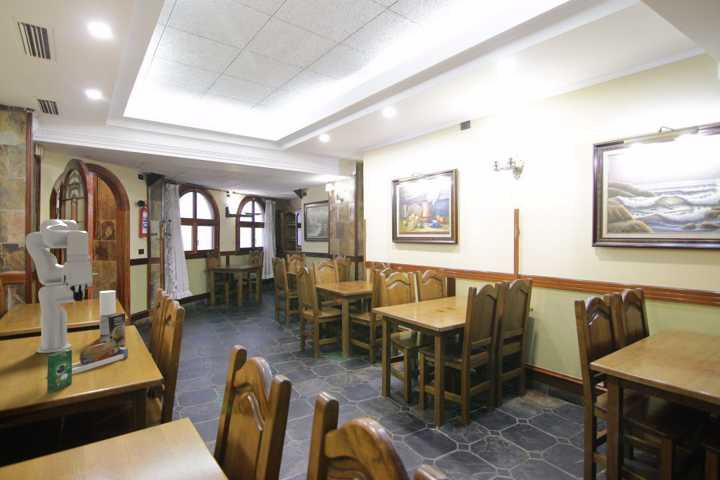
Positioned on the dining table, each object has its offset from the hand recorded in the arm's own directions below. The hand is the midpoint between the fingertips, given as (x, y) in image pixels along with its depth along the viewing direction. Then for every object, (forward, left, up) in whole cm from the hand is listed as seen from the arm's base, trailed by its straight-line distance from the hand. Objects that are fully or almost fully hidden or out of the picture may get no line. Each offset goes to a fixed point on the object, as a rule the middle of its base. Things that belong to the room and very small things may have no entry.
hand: (78, 300), depth 160 cm
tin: (+10, +3, -27) cm, 29 cm away
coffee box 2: (-8, +20, -27) cm, 35 cm away
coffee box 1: (+23, -19, -27) cm, 40 cm away
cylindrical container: (-28, +30, -27) cm, 49 cm away
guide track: (+10, -2, -27) cm, 29 cm away
